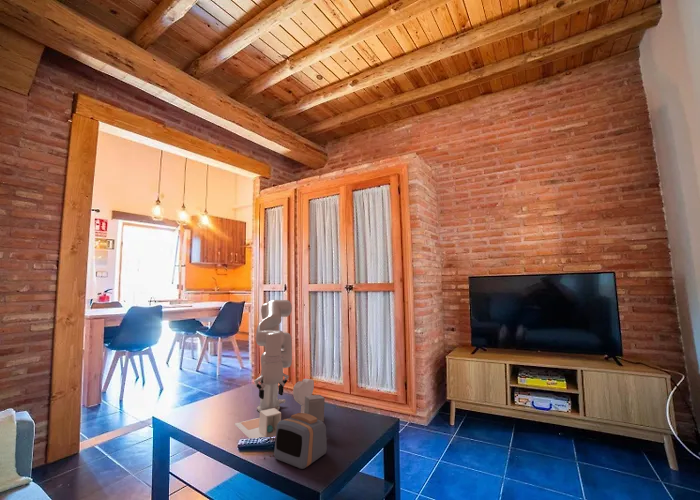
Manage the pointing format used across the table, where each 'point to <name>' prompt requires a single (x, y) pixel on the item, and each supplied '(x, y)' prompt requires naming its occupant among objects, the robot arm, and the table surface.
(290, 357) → the robot arm
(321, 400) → the skincare box
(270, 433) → the mat
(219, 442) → the table surface
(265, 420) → the cream rectangular block
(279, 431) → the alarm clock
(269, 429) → the marble
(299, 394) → the heart sculpture
